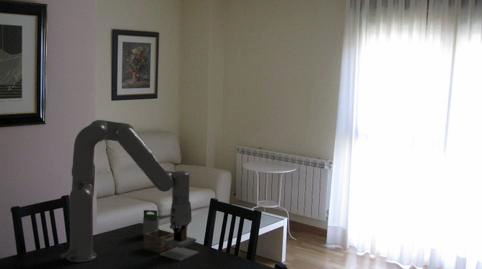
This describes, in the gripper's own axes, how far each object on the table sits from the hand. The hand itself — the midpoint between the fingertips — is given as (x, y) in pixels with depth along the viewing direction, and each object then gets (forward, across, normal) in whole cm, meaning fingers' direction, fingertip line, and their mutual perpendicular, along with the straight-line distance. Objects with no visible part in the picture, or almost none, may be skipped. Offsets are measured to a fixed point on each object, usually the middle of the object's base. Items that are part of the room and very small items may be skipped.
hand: (180, 239), depth 248 cm
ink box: (+7, +12, +28) cm, 31 cm away
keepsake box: (+7, 0, +12) cm, 14 cm away
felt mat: (+7, 0, 0) cm, 7 cm away
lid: (+1, 0, 0) cm, 1 cm away
